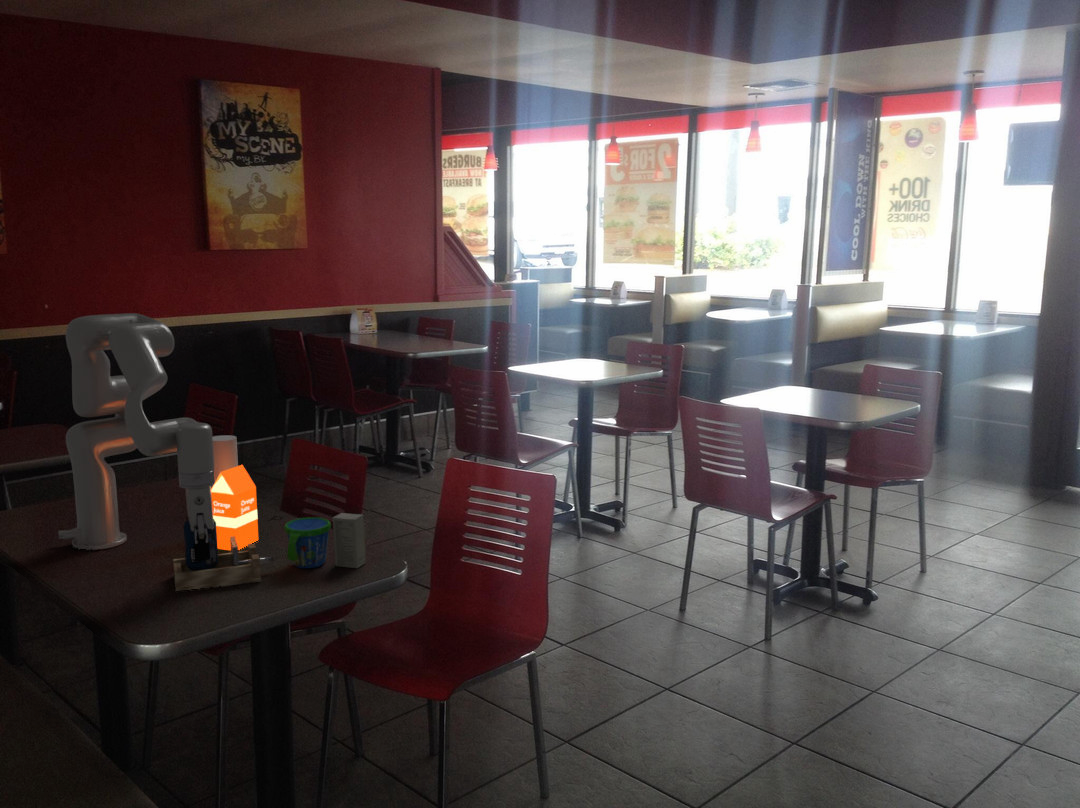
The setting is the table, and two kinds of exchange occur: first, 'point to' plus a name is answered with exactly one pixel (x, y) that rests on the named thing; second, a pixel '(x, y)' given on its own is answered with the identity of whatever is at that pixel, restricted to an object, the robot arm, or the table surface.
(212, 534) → the soda can
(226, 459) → the cylindrical container
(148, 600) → the table surface
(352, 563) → the skincare box
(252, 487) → the orange juice
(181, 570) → the wooden tray
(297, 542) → the snack cup
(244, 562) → the follower
